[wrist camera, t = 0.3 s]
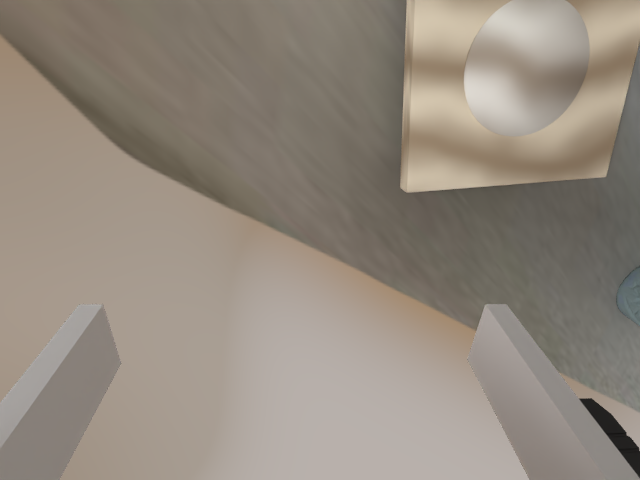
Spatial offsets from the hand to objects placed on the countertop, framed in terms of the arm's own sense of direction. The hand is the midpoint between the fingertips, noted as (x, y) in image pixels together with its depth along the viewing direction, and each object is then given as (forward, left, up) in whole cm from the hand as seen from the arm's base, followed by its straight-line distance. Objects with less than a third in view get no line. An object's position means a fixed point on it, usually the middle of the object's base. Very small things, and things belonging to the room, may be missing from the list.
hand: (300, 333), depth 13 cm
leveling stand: (-9, +21, -27) cm, 35 cm away
